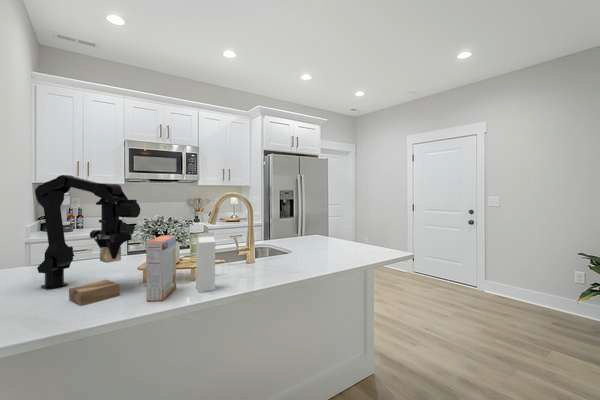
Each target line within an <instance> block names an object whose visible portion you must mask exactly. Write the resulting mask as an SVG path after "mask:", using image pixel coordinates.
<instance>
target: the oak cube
mask: <svg viewBox="0 0 600 400" xmlns="http://www.w3.org/2000/svg"><path fill="white" fill-rule="evenodd" d="M119 261H122V247H121V246H120V248H119V251H118V254H117V257H116V259H112V257H111V254H110V251H109V248H108V247H102V248H100V247H99V262H103V263H106V264H107V263H114V262H119Z"/></svg>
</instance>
